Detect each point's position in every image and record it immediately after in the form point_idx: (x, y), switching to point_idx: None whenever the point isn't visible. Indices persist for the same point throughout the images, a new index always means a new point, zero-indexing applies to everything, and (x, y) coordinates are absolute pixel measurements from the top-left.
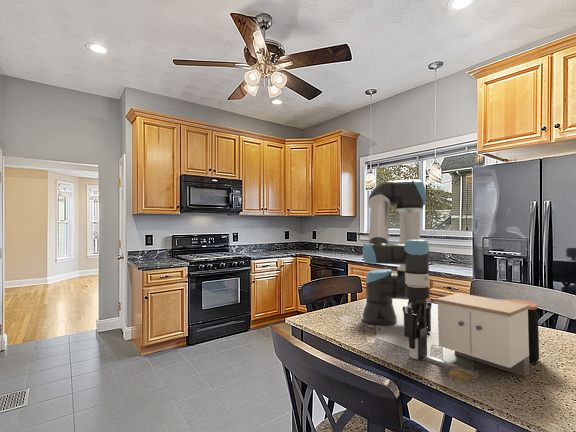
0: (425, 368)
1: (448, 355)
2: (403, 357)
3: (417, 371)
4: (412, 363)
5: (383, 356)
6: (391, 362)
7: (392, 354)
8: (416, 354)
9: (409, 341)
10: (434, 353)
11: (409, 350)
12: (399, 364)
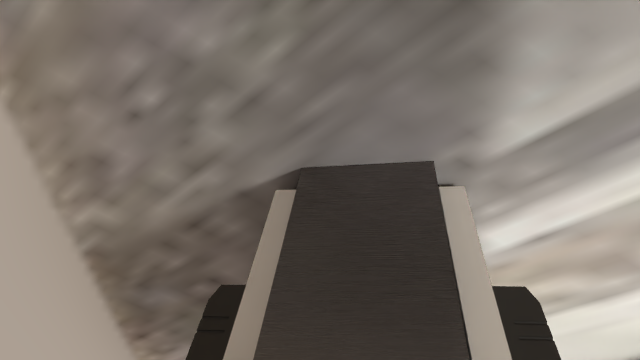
0: None
1: (633, 325)
2: (228, 148)
3: (146, 323)
4: (208, 253)
5: (26, 12)
6: (39, 156)
7: (168, 30)
8: None
9: (190, 358)
10: (593, 250)
11: (263, 233)
12: (89, 213)
